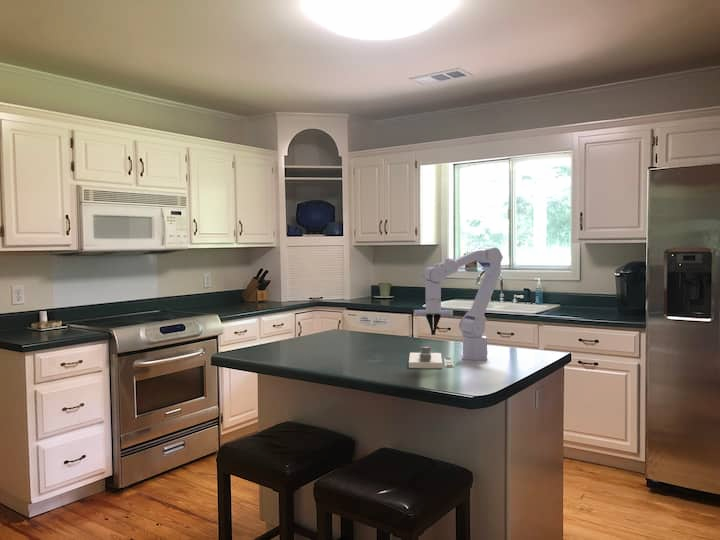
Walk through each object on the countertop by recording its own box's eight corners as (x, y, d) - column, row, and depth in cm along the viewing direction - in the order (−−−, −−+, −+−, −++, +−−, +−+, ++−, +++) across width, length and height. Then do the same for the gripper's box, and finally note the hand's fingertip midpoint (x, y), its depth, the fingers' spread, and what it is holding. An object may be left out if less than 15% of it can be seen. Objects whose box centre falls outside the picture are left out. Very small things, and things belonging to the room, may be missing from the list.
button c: (430, 364, 215) (430, 353, 215) (431, 367, 211) (430, 355, 211) (420, 364, 216) (419, 353, 216) (419, 366, 212) (419, 355, 212)
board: (441, 358, 228) (440, 352, 228) (442, 368, 210) (442, 362, 210) (410, 357, 229) (410, 352, 229) (408, 367, 211) (408, 362, 211)
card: (452, 359, 225) (452, 357, 225) (454, 367, 211) (454, 365, 211) (443, 359, 226) (443, 357, 226) (445, 367, 212) (445, 365, 212)
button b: (430, 357, 221) (430, 346, 221) (430, 359, 217) (430, 348, 217) (420, 357, 222) (420, 346, 221) (420, 359, 218) (420, 348, 217)
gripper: (452, 297, 223) (452, 332, 224) (414, 297, 225) (414, 332, 225) (453, 299, 216) (453, 336, 217) (413, 299, 218) (413, 335, 218)
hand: (433, 334), depth 221 cm, fingers closed
